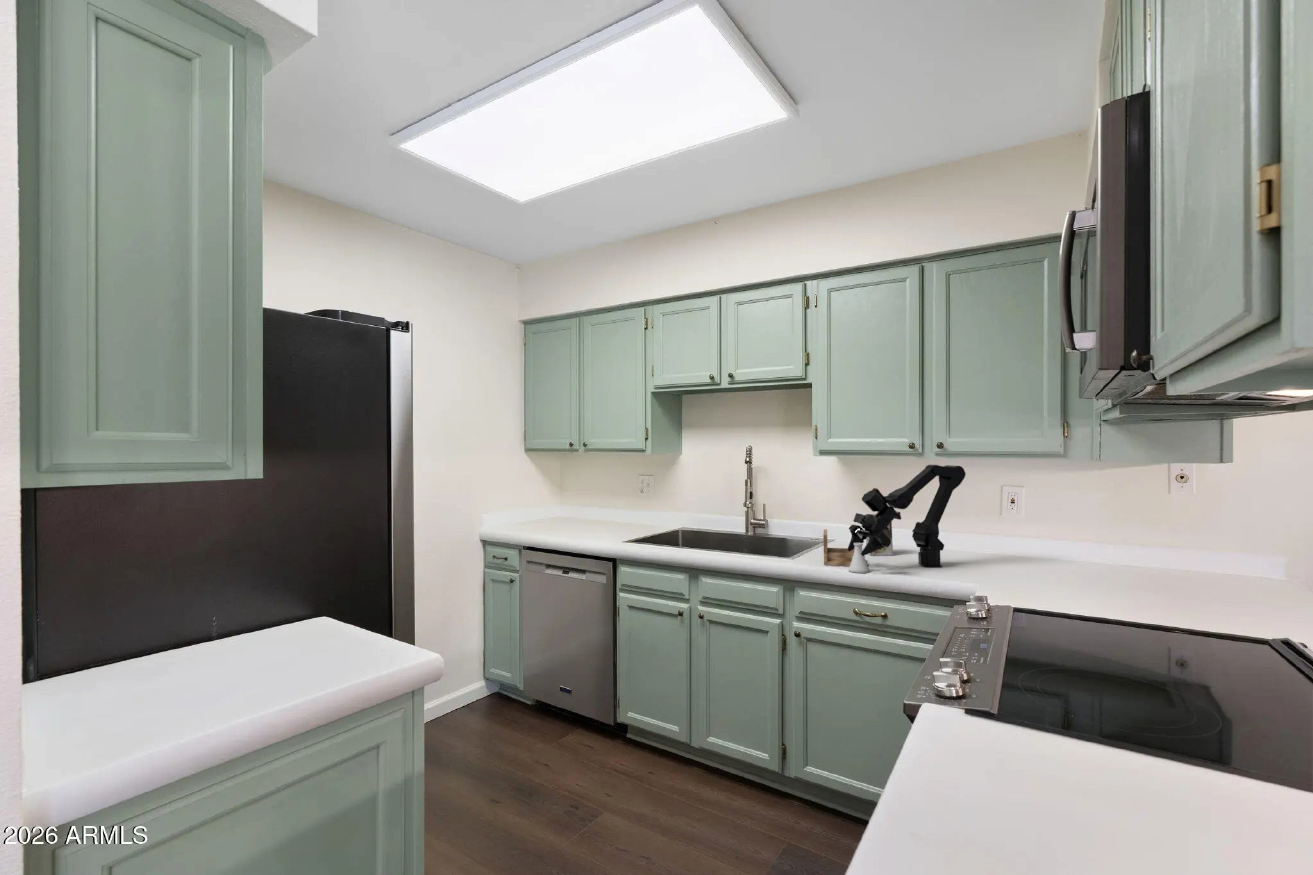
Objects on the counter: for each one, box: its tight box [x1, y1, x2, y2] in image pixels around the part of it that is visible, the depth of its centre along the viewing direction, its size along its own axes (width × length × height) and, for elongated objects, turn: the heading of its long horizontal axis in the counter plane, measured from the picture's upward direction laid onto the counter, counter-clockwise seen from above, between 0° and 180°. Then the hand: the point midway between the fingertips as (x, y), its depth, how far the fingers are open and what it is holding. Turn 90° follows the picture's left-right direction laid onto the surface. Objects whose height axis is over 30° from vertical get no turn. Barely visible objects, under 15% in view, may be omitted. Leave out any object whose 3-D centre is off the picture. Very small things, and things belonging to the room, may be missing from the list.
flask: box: [848, 543, 870, 574], centre depth 214 cm, size 7×7×10 cm
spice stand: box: [822, 529, 867, 568], centre depth 229 cm, size 15×14×12 cm
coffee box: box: [864, 513, 894, 557], centre depth 243 cm, size 9×6×16 cm
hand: (854, 552), depth 213 cm, fingers open, 8 cm apart
